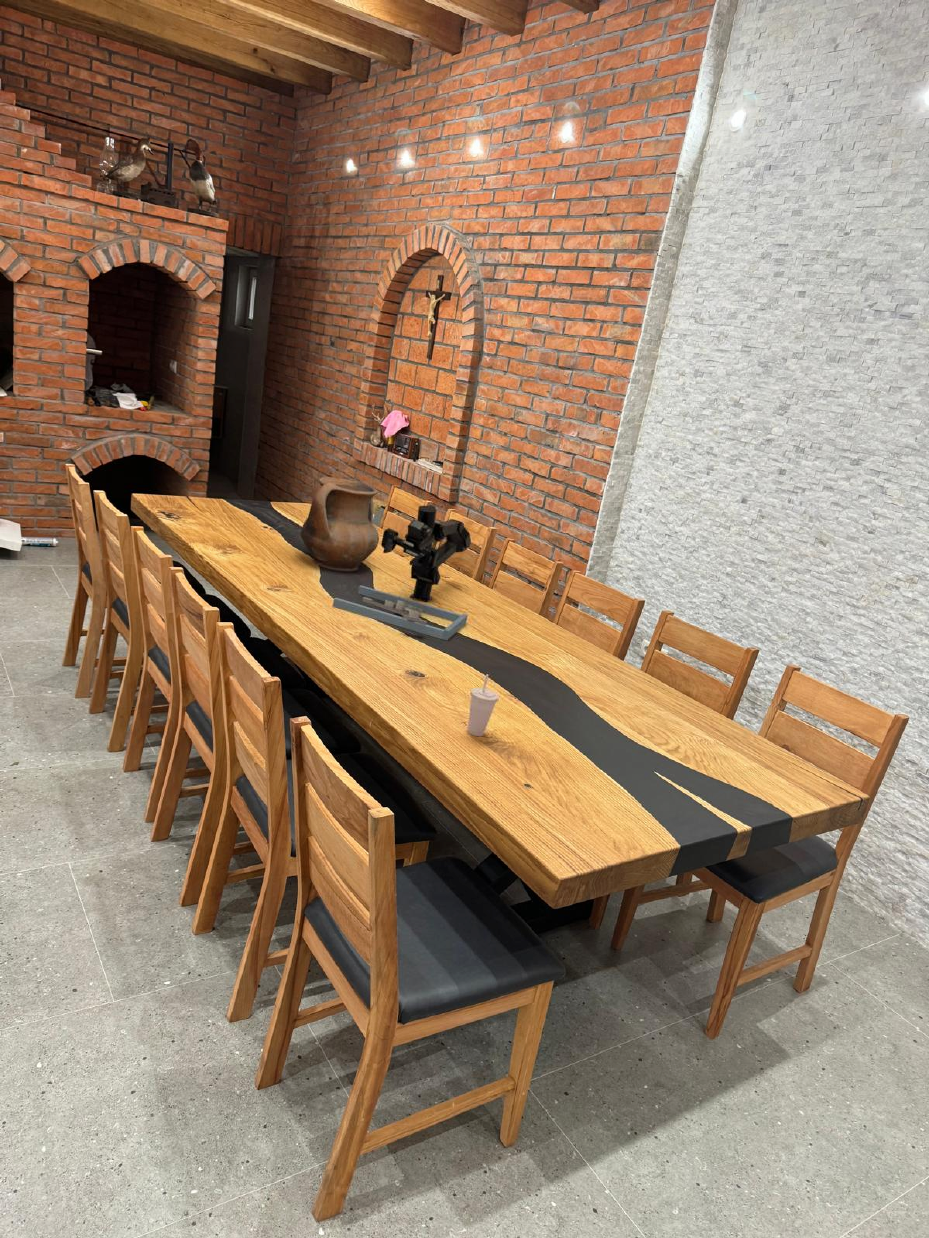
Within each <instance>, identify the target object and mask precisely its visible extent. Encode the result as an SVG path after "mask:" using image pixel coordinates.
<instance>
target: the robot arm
mask: <svg viewBox="0 0 929 1238" xmlns="http://www.w3.org/2000/svg"><path fill="white" fill-rule="evenodd" d="M436 516H437V509H436V506H435V505H431V504H429V505H419V506H418V510H417V519H412V520H411V521H410V523H409V524H408V525H407V533H406V534H405V536H404V539H403V538H401V537H400V536H399V531H396V530H394V529H393V528H390V527H389V528H386V529H385V530H383V533H382V539H381V544H380V546H381V548H383V552H382V553H383V554H388V553H391V552H392V551H394V550H395V548H396V547H397V546H398V547H400V548H402V549H403V550H402V552H403V553H405V554H407V555H409V556H411V557H413V558H412V559H411V560H410V561H409V562H408V564H409V565H410V566H411V568H410V578H411V579H413V580H415V584H414V590H413V593H412V594H410V595H409V598H411V599H416V600H419V601H422V602H426V603H428V602H430V601H431V600H432V599H434V596H431V593H432V590H433V589H432V588H433V586H438V585H439V582H440V579H441V575H440V571H439V567H441V566H442V565H443V564H444V563H445V562H446V561H447V560H449V558H451V557H452V556H453V555H454V554H455V553H463V552H465V551H467V550H468V549H469V548H470V545H471V544H472V543H471V542H472V540H471V534H470V532H469V531H468V529H466V527H465V524H464V522H463V521H460V520H456V519H453V518H452V519H451V518H450V519H449V520H445V521H440V522H436V519H437V518H436ZM443 540H445V542H443ZM434 542H437V543H441V542H443V543H442V544H441V545H440V546H439V547H438V548H435V547H433V543H434Z"/></svg>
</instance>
